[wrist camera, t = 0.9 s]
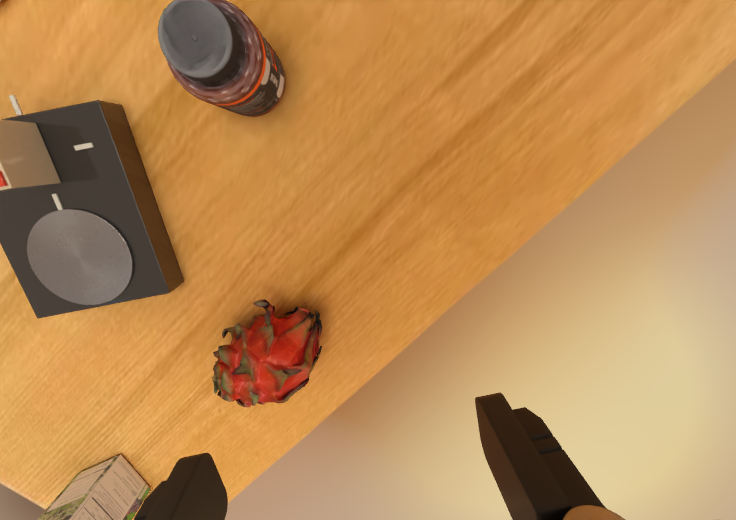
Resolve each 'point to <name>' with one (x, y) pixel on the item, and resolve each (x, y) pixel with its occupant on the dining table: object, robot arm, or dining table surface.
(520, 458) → the robot arm
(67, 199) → the hob
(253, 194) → the dining table surface
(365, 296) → the dining table surface
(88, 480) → the syrup box
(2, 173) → the knob
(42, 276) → the burner
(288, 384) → the dragon fruit
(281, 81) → the supplement bottle
